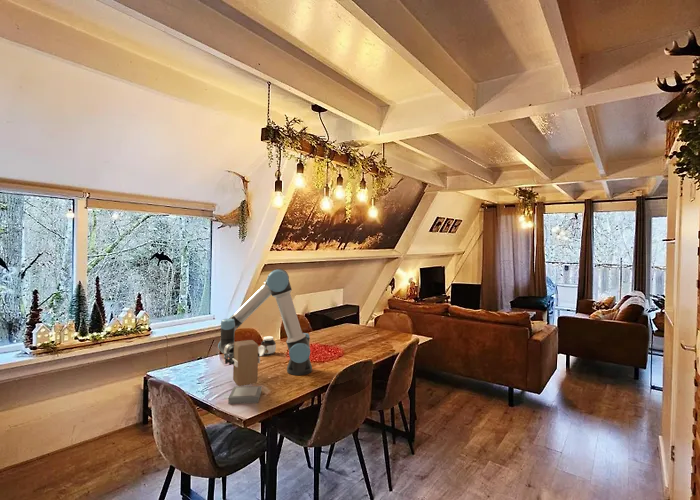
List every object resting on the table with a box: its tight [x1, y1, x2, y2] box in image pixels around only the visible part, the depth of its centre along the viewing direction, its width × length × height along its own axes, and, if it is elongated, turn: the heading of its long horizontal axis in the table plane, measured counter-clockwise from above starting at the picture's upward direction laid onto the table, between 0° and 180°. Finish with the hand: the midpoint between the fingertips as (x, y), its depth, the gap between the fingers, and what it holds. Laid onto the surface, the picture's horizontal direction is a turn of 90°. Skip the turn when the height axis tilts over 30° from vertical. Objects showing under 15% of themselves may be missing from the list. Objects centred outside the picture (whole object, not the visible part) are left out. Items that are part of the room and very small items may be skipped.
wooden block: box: [232, 339, 259, 387], centre depth 190 cm, size 10×10×20 cm
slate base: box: [227, 385, 263, 405], centre depth 191 cm, size 14×14×3 cm
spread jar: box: [258, 335, 277, 357], centre depth 264 cm, size 12×11×12 cm
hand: (248, 362), depth 187 cm, fingers closed on wooden block, 11 cm apart
